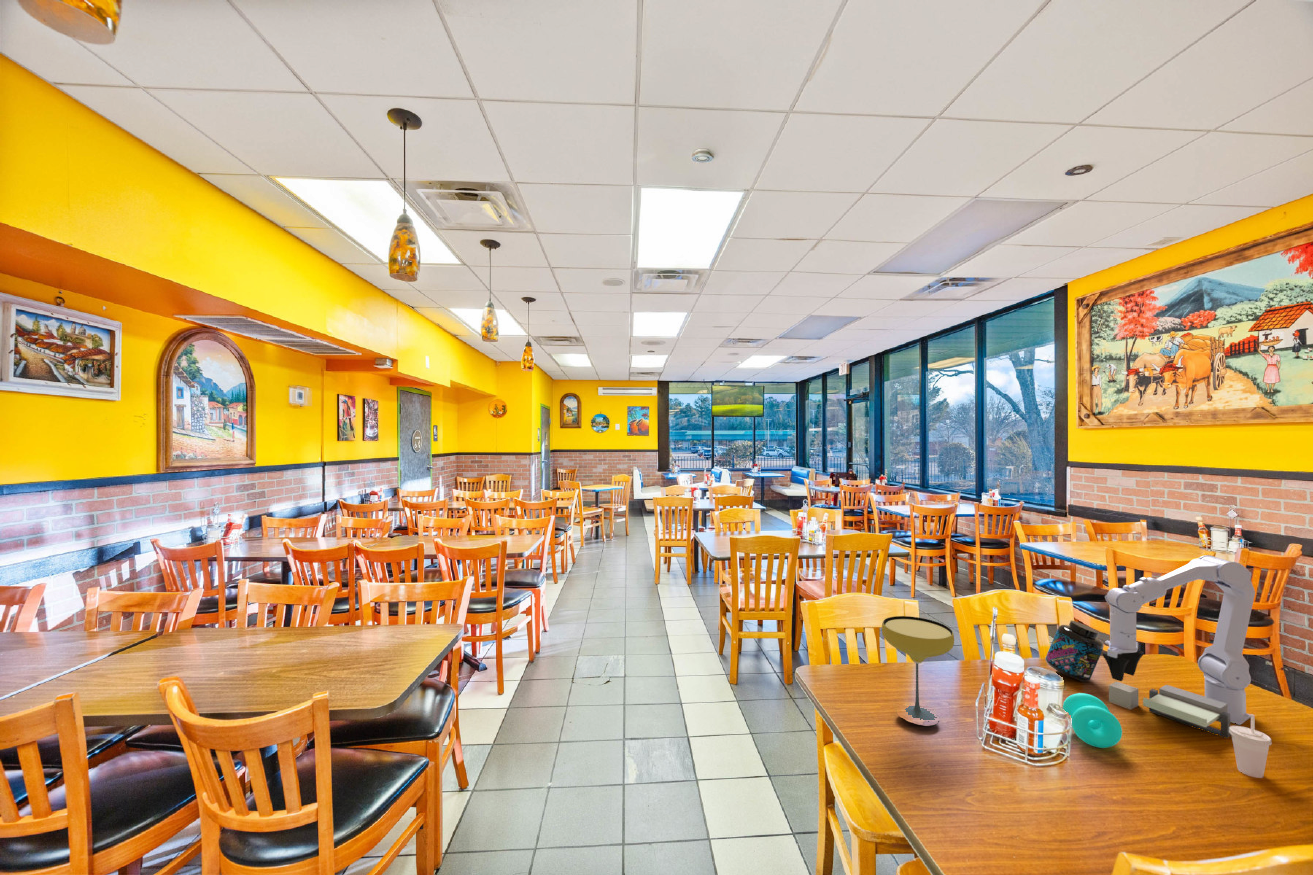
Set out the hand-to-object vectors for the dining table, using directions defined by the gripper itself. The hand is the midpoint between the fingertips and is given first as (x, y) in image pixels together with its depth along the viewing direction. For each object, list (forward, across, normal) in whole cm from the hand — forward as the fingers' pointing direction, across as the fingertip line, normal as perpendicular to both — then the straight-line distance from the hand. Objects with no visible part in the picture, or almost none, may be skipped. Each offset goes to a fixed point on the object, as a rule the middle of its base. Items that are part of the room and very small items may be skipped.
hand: (1123, 676), depth 148 cm
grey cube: (+8, 0, 0) cm, 8 cm away
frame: (+8, -2, +13) cm, 15 cm away
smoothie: (+8, +15, +28) cm, 33 cm away
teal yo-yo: (+8, +30, +4) cm, 31 cm away
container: (+8, -7, -15) cm, 18 cm away
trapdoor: (+3, -2, +13) cm, 13 cm away
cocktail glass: (+8, +60, -24) cm, 65 cm away
